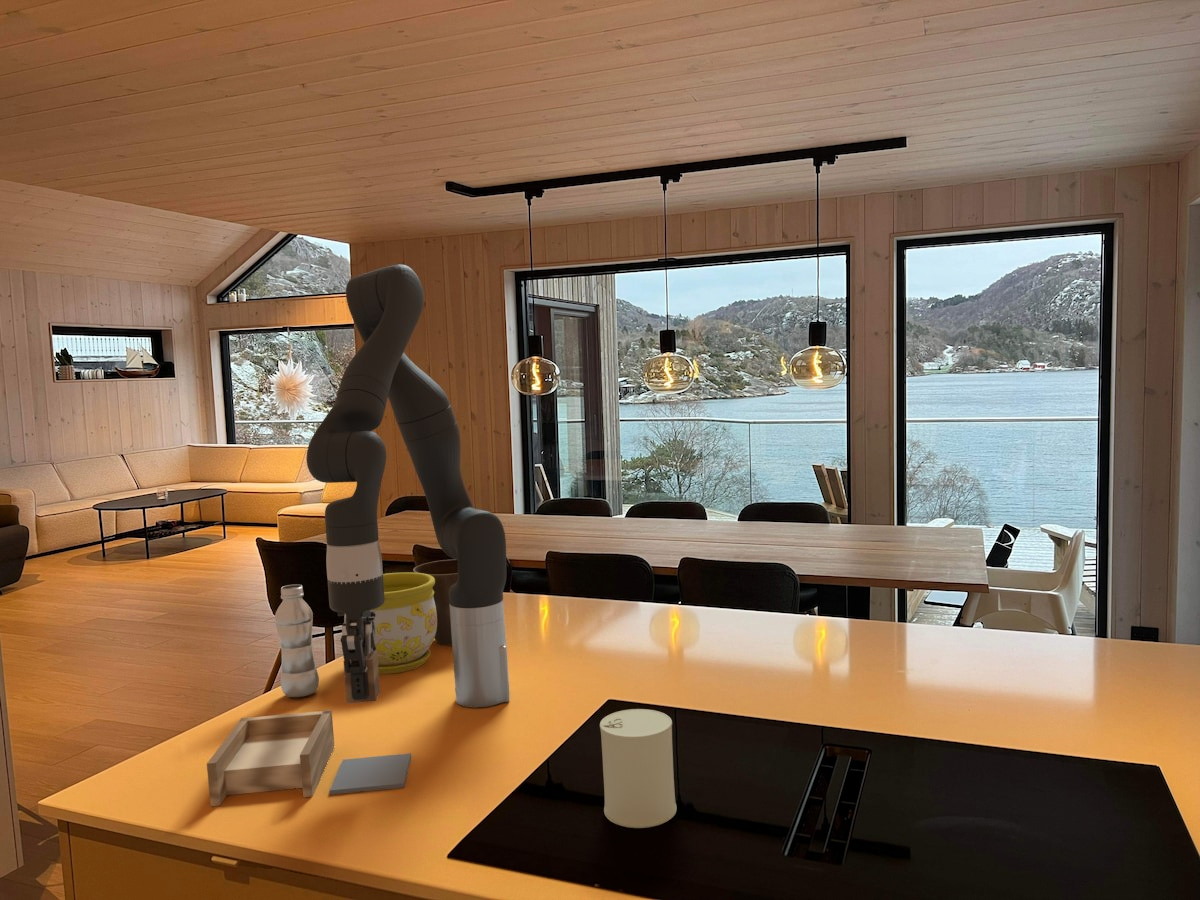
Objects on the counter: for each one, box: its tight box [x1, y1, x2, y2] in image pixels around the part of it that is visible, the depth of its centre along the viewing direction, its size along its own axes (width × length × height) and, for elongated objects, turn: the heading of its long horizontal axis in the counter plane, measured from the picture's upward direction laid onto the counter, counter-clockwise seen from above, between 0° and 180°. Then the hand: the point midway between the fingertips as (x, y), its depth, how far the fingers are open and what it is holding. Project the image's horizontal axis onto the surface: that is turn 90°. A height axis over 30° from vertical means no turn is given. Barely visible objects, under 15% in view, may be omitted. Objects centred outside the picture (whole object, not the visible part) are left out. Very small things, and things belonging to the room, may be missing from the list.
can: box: [599, 708, 677, 829], centre depth 115 cm, size 9×9×12 cm
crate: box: [206, 710, 335, 807], centre depth 131 cm, size 13×16×6 cm
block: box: [343, 651, 381, 704], centre depth 129 cm, size 4×4×6 cm
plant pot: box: [413, 559, 458, 646], centre depth 193 cm, size 15×15×16 cm
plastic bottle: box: [274, 584, 320, 698], centre depth 164 cm, size 6×7×20 cm
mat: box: [329, 752, 412, 795], centre depth 130 cm, size 10×10×1 cm
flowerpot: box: [343, 571, 437, 675], centre depth 179 cm, size 18×18×16 cm
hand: (363, 692), depth 129 cm, fingers closed on block, 4 cm apart
